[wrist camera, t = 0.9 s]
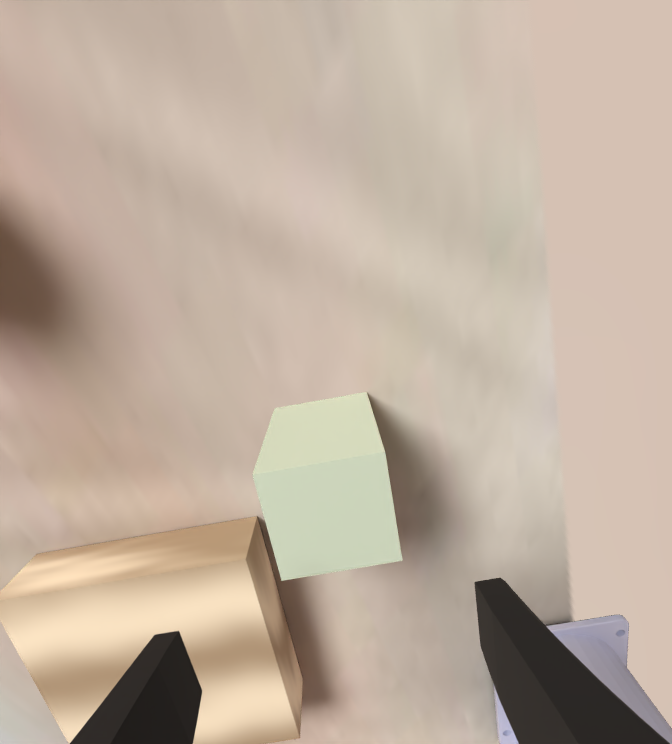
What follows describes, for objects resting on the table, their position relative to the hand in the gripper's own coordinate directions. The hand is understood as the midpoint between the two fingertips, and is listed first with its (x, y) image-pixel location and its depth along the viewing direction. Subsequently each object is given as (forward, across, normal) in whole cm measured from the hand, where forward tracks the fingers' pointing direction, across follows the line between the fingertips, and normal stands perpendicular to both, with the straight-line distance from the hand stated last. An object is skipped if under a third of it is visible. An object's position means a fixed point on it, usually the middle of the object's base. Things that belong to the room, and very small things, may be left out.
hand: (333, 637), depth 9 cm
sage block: (+10, 0, 0) cm, 10 cm away
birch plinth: (+10, +10, +10) cm, 18 cm away
